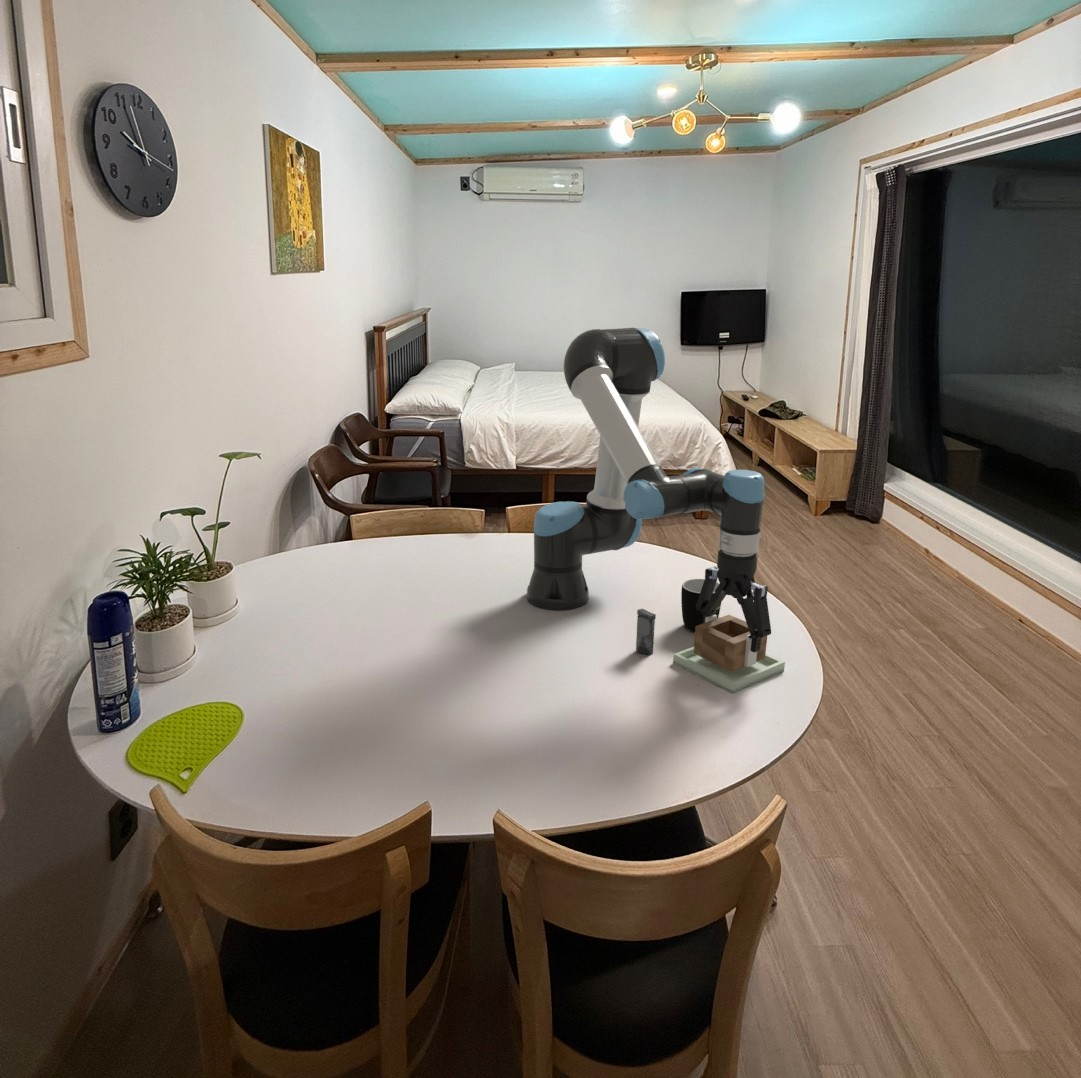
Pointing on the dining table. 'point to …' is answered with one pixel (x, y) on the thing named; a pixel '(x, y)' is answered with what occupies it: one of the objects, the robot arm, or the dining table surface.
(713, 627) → the wooden open box
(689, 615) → the mug
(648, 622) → the dark grey upright block
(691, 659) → the tray
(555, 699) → the dining table surface
